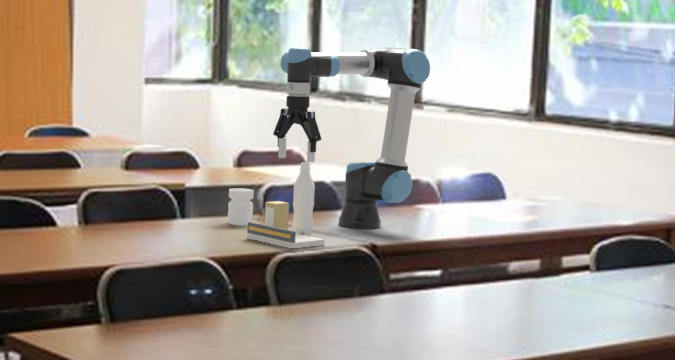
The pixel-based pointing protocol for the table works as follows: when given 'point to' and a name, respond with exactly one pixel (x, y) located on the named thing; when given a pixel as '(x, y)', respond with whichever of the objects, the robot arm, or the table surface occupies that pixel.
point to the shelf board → (281, 236)
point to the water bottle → (303, 201)
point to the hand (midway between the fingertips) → (296, 160)
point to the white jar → (240, 206)
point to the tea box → (277, 214)
